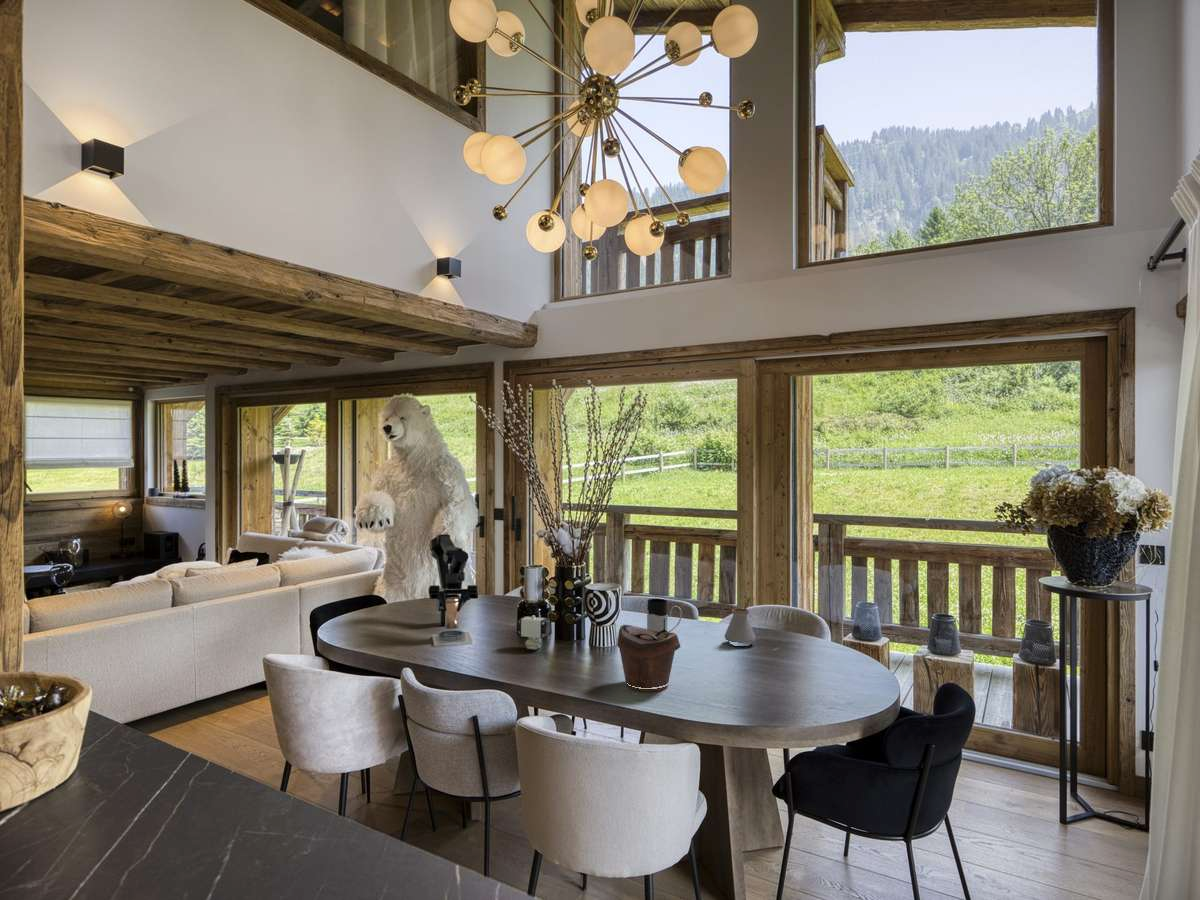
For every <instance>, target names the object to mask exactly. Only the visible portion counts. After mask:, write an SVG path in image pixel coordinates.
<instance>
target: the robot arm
mask: <svg viewBox="0 0 1200 900" xmlns="http://www.w3.org/2000/svg"><path fill="white" fill-rule="evenodd" d="M428 545H429V546H428V547H429V551H430V554H431V557H433V559H435V561H436V565H437V571H438V572H437V573H438V578H439V583H440V585H437V584H435V585H429V586H428V595H429V599H430V600H436V602H435V609H436V611H438V612H440V614H439V617H440V618H439V620H440V621H438V625H439V626H440V627H445V606H446V602H445V599H446V598H449V597H457V598H459V606H458V611H459V612H460V611H461V609H462V608H463V607H464V605H465V604H466V603H467V602H468V601H470V600H472V599H473V600H475V599H476V600H477V599H478V598H479V594H480V593H479V586H478V585H477V584H471V585H470V584H468V585H467V588H463V587H462V586H463V582H465V578H466V573H465V572H464V571H465V568H466V565H467V563H468V560H469V554H468V553H467V552H466V551H465V550H463V548H462V547H458V546H455V544H454V543H453V541H452V539H451V535H450V534H448V533H443V534H438V535H436V537H434V538H432V539H431V540H430V542H429V544H428Z"/></svg>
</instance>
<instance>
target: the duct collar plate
mask: <svg viewBox="0 0 1200 900" xmlns="http://www.w3.org/2000/svg"><path fill="white" fill-rule="evenodd" d="M431 637H432V642H433V646H434V647H445V646H457V645H471V644H473V638H472V637H471V634H470V631H462V630H457V629H451V630H446V631H441V632H440V633H432V635H431Z"/></svg>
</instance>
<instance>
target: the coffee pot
mask: <svg viewBox="0 0 1200 900" xmlns="http://www.w3.org/2000/svg"><path fill="white" fill-rule="evenodd" d="M750 600H751V601H750ZM752 602H753V600H752V598H751V597H748V598H747V599H746V602H745V603H744V606H743V608H740V607H739V608H738V607H737V608H733V609H731V612H732V617H731V619H730V622H729V625H728V627H727V628H726V631H725V634H724V639H725V640H726V641H727V640H728V641H731V642H738V643H749V642H753V641H754V642H755V641H756V638H757V637H756V634H755V633H754V630H753V627H752V625H751V623H750V620H749V618H748V615H749V613H750V610H749V609H748V606H749V603H752ZM754 642H753V643H754Z"/></svg>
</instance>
